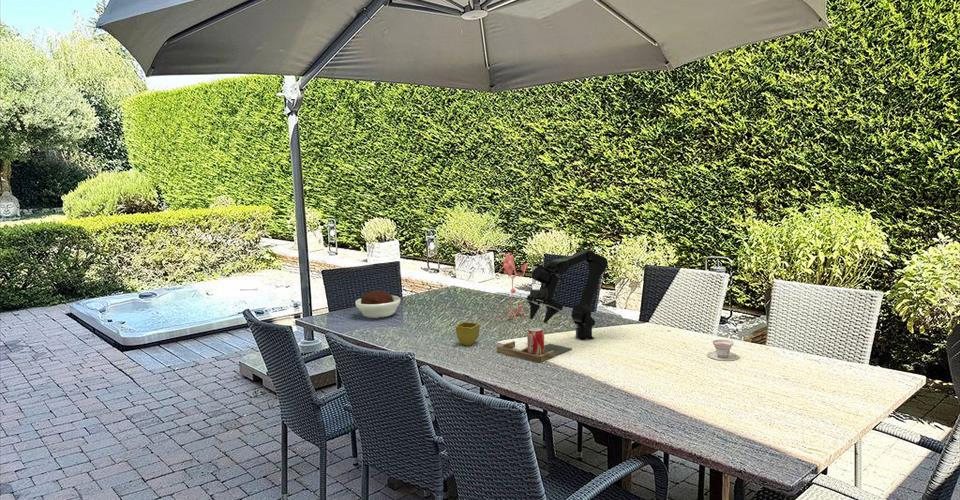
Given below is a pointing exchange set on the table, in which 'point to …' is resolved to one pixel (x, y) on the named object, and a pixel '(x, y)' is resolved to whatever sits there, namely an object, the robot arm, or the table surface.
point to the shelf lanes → (524, 353)
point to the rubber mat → (556, 349)
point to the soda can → (536, 341)
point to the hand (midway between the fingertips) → (537, 320)
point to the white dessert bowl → (377, 304)
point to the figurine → (508, 268)
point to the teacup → (722, 351)
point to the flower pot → (467, 332)
